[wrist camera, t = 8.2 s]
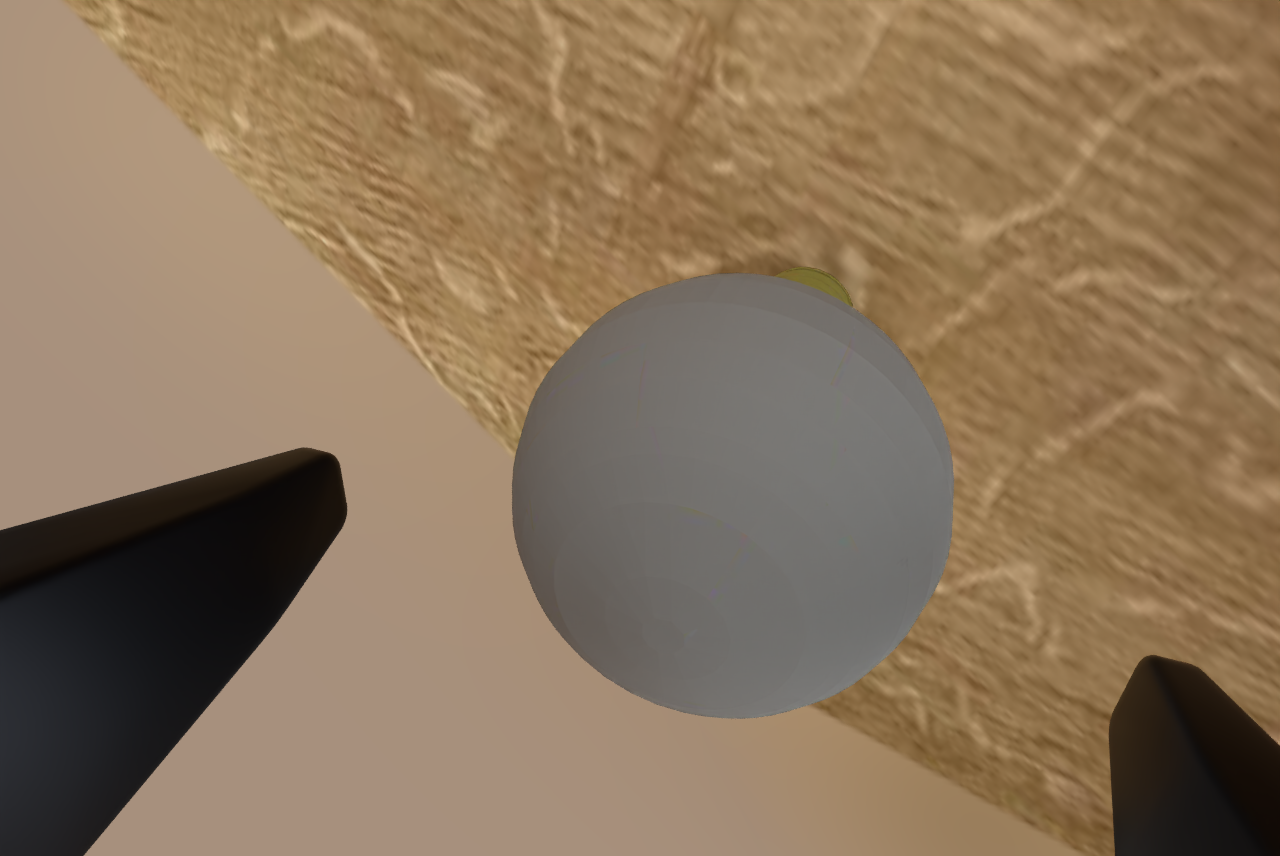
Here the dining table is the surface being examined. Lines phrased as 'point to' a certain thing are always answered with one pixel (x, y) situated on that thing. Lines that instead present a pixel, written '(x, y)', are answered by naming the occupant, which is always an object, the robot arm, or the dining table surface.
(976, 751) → the dining table surface
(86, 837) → the robot arm
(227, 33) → the dining table surface
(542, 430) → the light bulb
